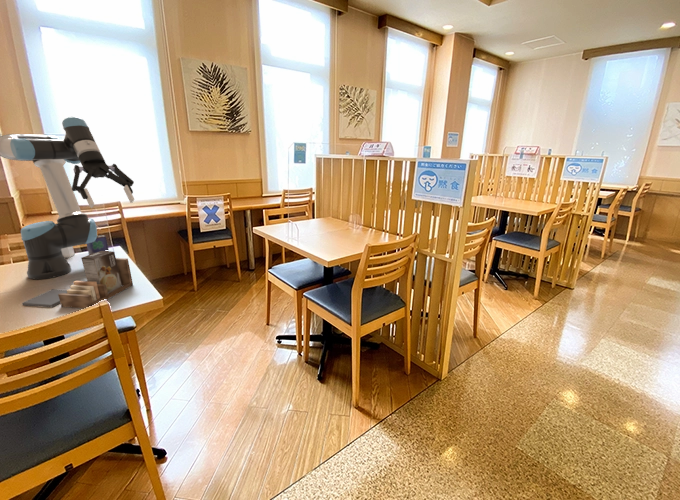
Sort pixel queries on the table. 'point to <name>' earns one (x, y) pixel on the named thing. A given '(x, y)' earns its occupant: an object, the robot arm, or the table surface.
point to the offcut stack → (85, 289)
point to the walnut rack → (99, 289)
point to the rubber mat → (45, 299)
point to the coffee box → (102, 269)
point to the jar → (67, 252)
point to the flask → (97, 245)
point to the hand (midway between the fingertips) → (113, 203)
